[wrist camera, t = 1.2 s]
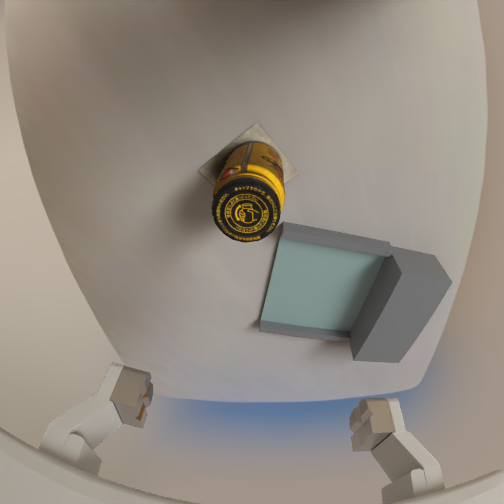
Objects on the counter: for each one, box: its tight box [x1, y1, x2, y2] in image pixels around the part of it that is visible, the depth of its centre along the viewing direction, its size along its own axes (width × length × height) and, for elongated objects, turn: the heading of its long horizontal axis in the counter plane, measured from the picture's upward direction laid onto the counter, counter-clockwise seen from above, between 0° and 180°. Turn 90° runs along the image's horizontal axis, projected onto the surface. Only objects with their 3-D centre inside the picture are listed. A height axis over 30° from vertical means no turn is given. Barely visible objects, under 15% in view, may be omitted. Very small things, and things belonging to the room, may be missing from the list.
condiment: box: [198, 123, 299, 242], centre depth 28 cm, size 7×8×12 cm
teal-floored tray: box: [259, 222, 452, 363], centre depth 38 cm, size 17×22×6 cm
